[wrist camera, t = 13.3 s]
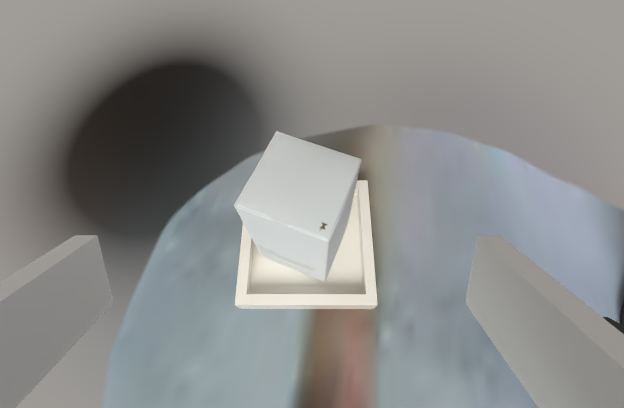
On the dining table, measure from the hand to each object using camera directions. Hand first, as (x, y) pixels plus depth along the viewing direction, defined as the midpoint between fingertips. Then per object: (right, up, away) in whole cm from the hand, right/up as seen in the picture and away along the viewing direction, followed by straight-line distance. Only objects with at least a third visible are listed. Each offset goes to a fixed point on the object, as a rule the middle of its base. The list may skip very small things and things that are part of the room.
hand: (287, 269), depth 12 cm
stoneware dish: (0, -3, +31) cm, 31 cm away
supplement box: (0, -2, +31) cm, 31 cm away
